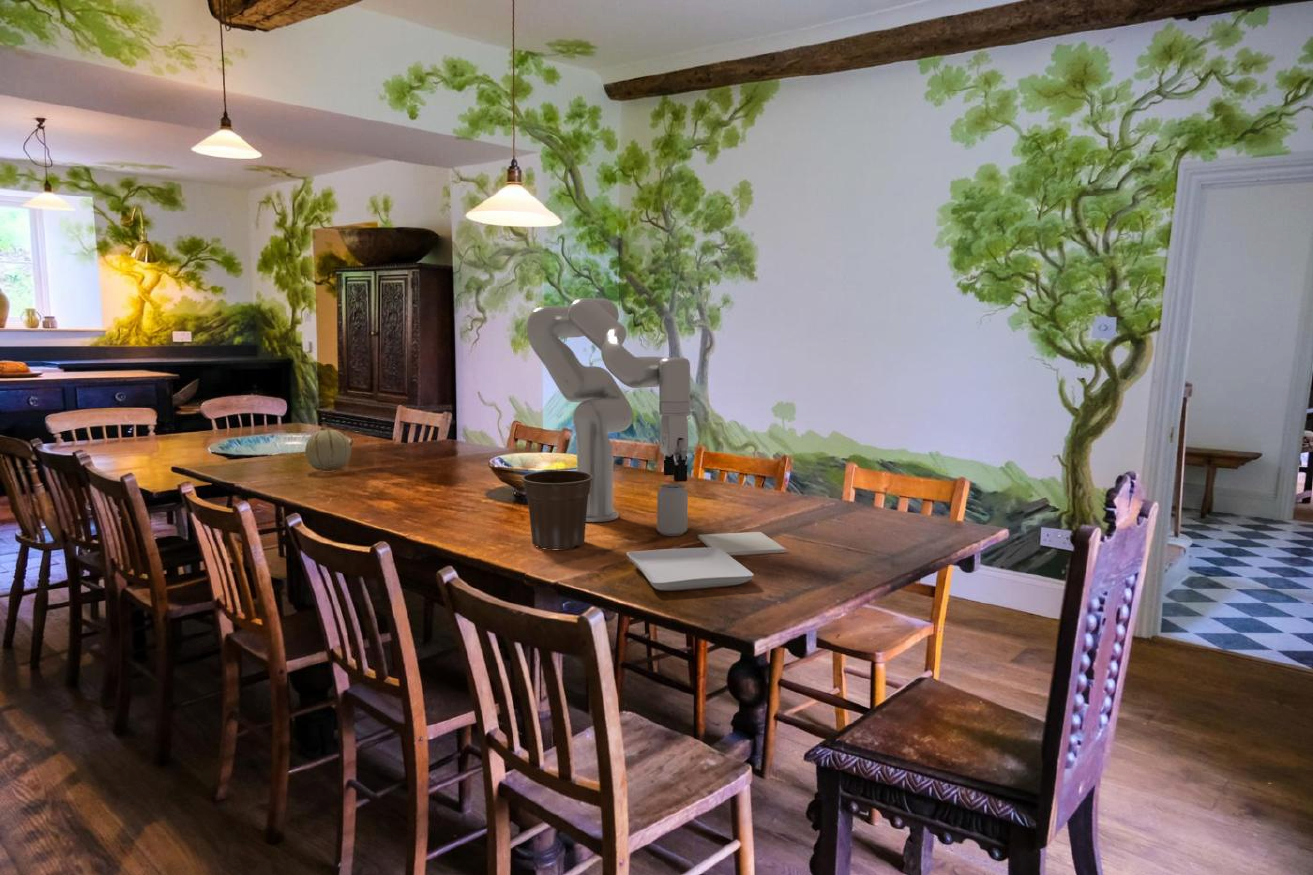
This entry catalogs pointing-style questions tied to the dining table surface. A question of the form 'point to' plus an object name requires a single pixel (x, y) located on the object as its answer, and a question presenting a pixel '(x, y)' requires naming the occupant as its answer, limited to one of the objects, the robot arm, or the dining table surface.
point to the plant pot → (557, 507)
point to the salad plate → (689, 568)
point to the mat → (742, 543)
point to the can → (672, 509)
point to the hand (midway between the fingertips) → (675, 478)
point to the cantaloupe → (328, 450)
